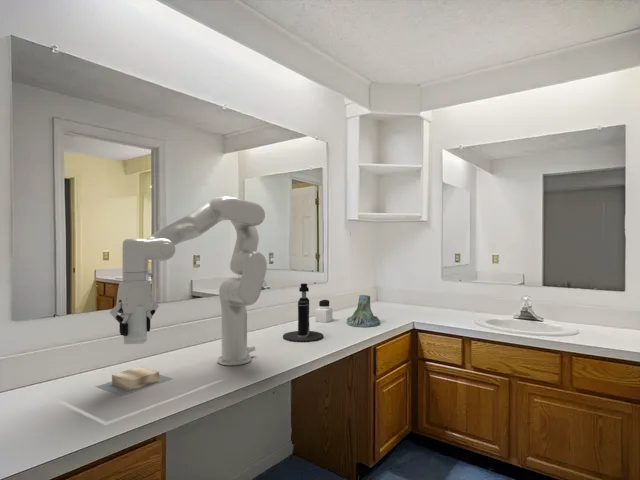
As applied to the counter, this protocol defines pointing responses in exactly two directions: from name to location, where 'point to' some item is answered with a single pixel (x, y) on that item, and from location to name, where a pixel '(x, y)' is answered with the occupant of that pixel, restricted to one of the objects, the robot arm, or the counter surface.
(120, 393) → the slate board
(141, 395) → the counter surface
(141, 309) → the skincare box
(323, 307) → the medicine bottle
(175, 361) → the counter surface
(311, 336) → the vape
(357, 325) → the tree stump
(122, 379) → the birch plinth
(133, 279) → the robot arm
